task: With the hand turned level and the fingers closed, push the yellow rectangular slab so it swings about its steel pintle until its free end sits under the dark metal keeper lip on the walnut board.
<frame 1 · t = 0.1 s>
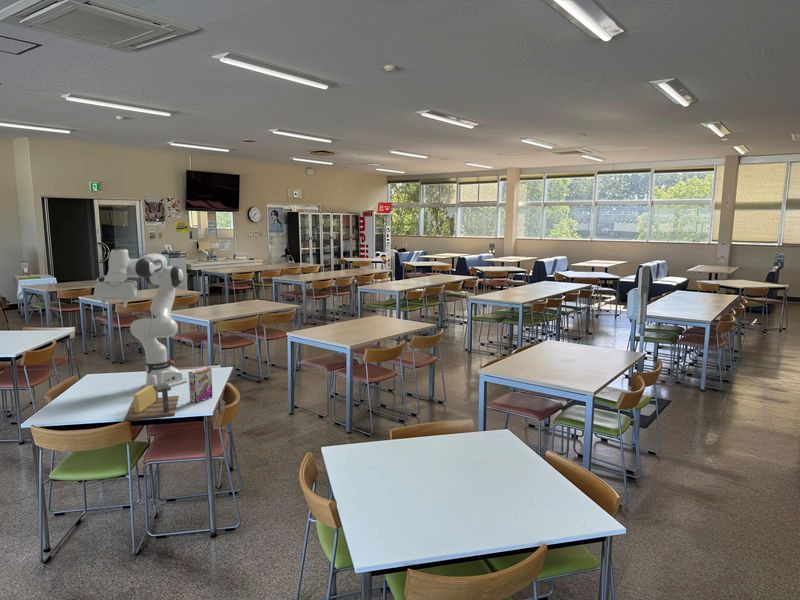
hand: (114, 307, 263), 52 cm above the table, tool tilted 20°, fingers open, 8 cm apart
yellow rectangular slab: (146, 393, 270), point 8 cm above the table, hinge at -20.0°
candy bar box: (201, 399, 284), on the table
pintle board: (155, 402, 279), on the table
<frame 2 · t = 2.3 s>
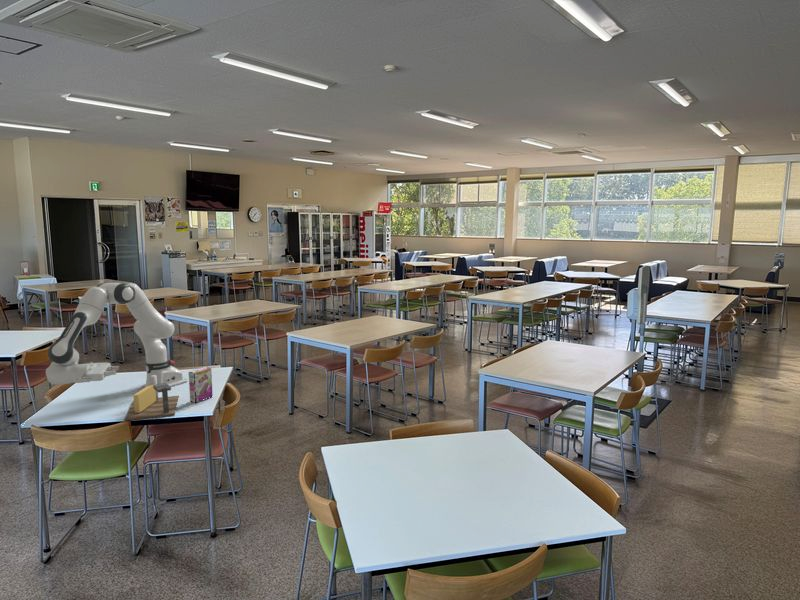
hand: (117, 370, 261), 22 cm above the table, tool horizontal, fingers open, 6 cm apart
nothing on the table moved.
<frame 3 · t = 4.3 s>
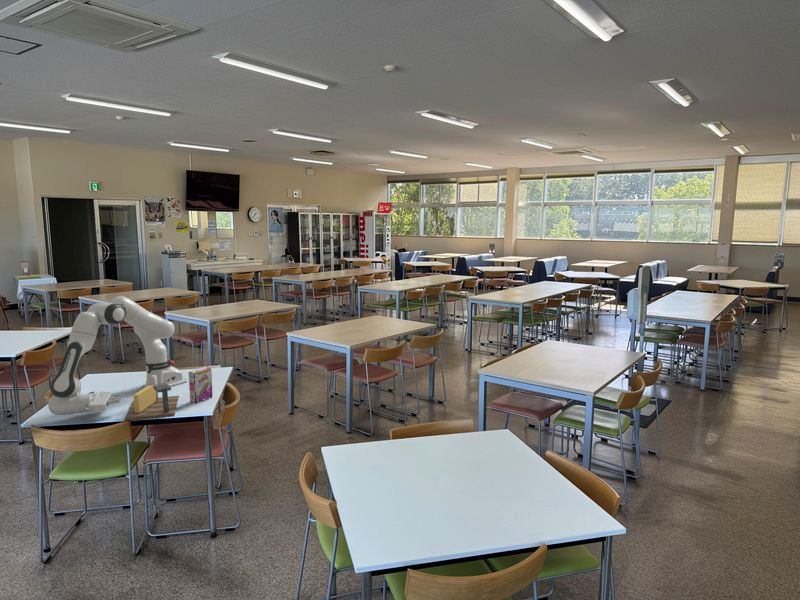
hand: (119, 400, 263), 7 cm above the table, tool horizontal, fingers closed
nothing on the table moved.
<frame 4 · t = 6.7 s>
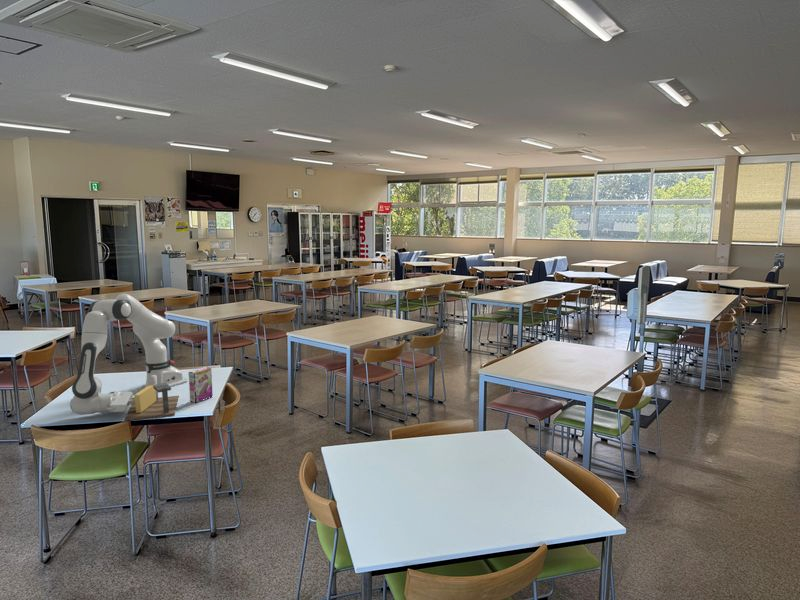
hand: (140, 399, 266), 6 cm above the table, tool horizontal, fingers closed
yellow rectangular slab: (146, 393, 270), point 8 cm above the table, hinge at -18.1°, touching gripper
everything else where it was.
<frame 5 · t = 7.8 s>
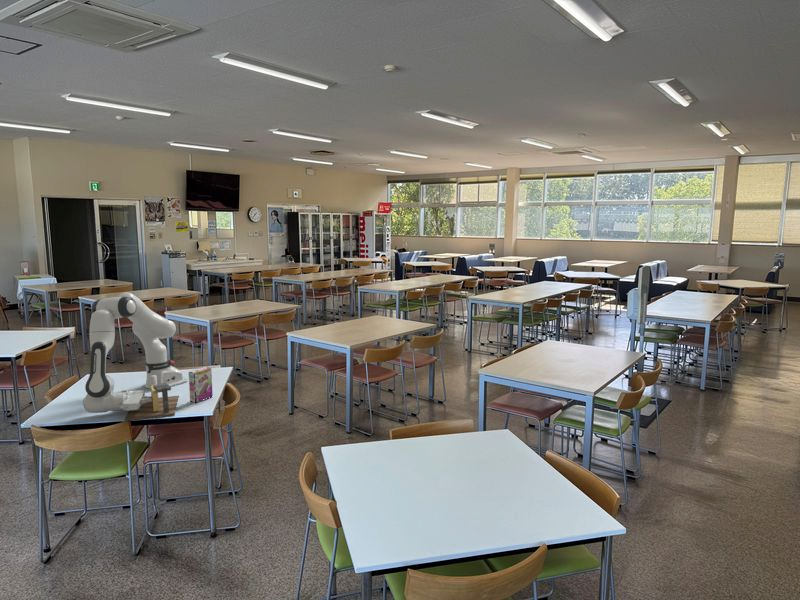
hand: (152, 398, 268), 6 cm above the table, tool horizontal, fingers closed
yellow rectangular slab: (154, 392, 271), point 8 cm above the table, hinge at 8.2°, touching gripper
everything else where it was.
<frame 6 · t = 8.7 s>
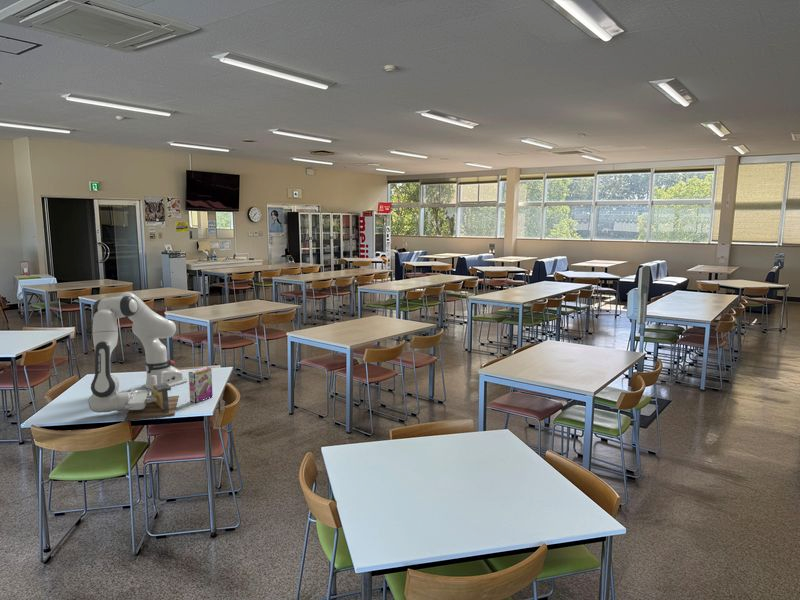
hand: (157, 398, 269), 6 cm above the table, tool horizontal, fingers closed
yellow rectangular slab: (158, 391, 272), point 8 cm above the table, hinge at 22.2°, touching gripper
everything else where it was.
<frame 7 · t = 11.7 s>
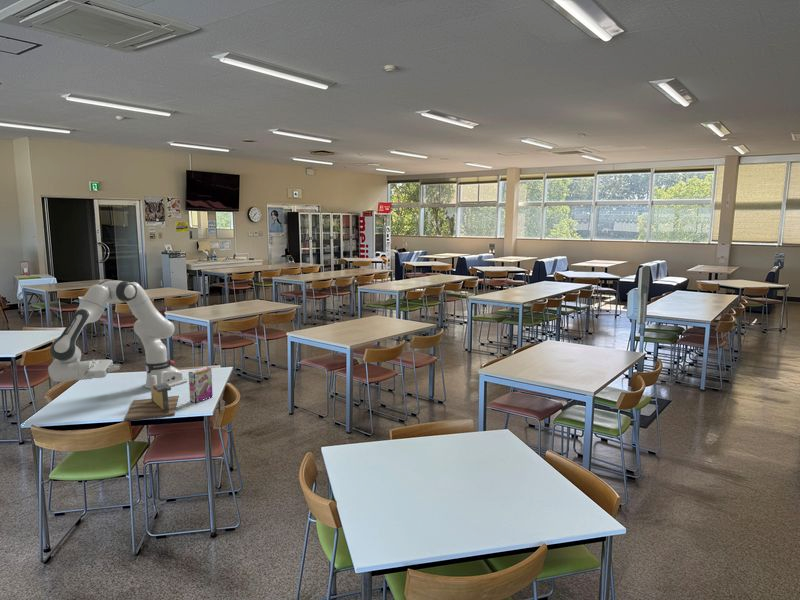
hand: (119, 367, 261), 24 cm above the table, tool horizontal, fingers closed
yellow rectangular slab: (158, 391, 272), point 8 cm above the table, hinge at 22.2°
everything else where it was.
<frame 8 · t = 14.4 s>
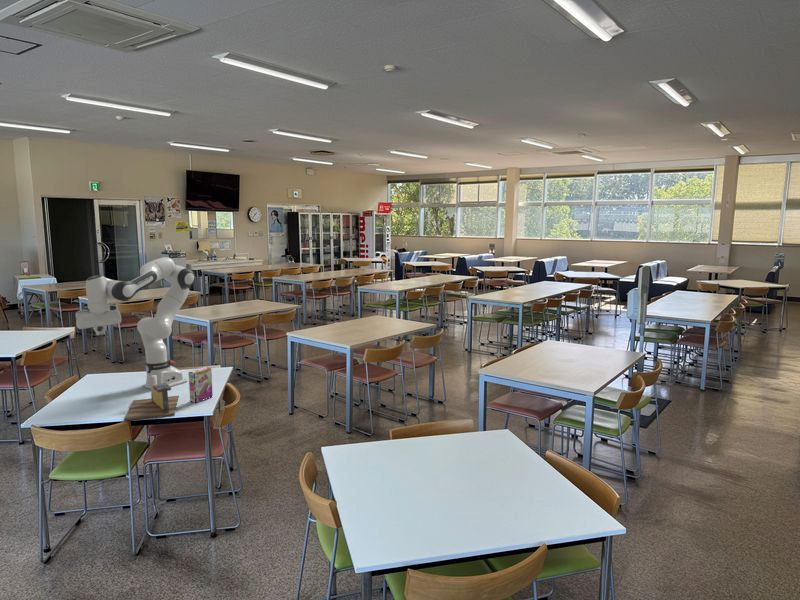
hand: (100, 334, 271), 37 cm above the table, tool pointing down, fingers closed
nothing on the table moved.
at the end: yellow rectangular slab at +22° (first picture: -20°); candy bar box moved 0.2 cm from its start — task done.
